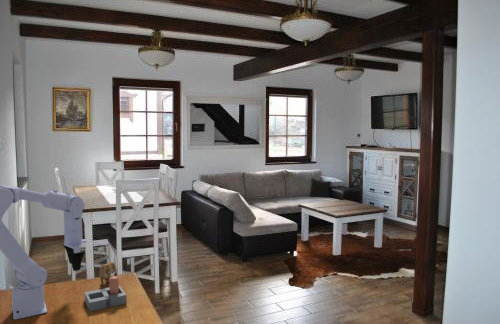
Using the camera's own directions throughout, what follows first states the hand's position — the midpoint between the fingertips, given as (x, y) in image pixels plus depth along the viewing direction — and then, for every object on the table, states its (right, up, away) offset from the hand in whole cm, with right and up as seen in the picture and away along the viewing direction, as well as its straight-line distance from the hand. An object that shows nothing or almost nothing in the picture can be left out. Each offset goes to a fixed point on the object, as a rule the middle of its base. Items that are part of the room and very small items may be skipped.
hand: (74, 266), depth 147 cm
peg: (+15, -11, -2) cm, 19 cm away
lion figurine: (+8, -9, +13) cm, 18 cm away
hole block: (+12, -11, -4) cm, 17 cm away
